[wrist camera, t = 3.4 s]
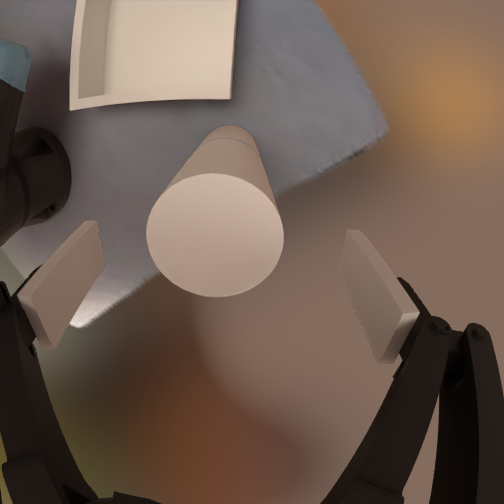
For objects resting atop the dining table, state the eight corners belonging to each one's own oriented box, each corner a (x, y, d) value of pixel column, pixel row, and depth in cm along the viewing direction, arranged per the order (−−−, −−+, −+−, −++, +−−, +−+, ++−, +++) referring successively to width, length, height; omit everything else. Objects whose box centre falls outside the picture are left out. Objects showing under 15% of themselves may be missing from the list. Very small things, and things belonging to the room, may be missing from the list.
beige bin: (99, 105, 32) (69, 110, 25) (108, -10, 23) (82, -27, 16) (231, 99, 33) (229, 99, 26) (240, -23, 25) (241, -49, 18)
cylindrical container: (262, 131, 36) (300, 189, 14) (250, 182, 39) (265, 305, 17) (206, 120, 35) (152, 162, 13) (197, 173, 38) (144, 285, 16)
